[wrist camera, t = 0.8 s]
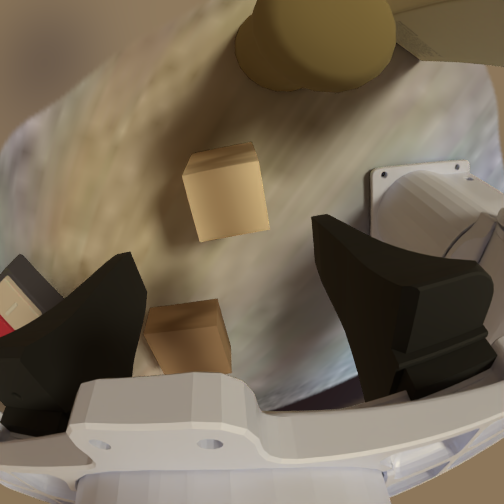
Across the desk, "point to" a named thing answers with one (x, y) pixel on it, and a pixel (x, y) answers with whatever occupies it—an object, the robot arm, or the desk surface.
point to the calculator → (23, 295)
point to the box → (451, 30)
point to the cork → (316, 43)
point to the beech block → (226, 192)
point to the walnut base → (189, 337)
